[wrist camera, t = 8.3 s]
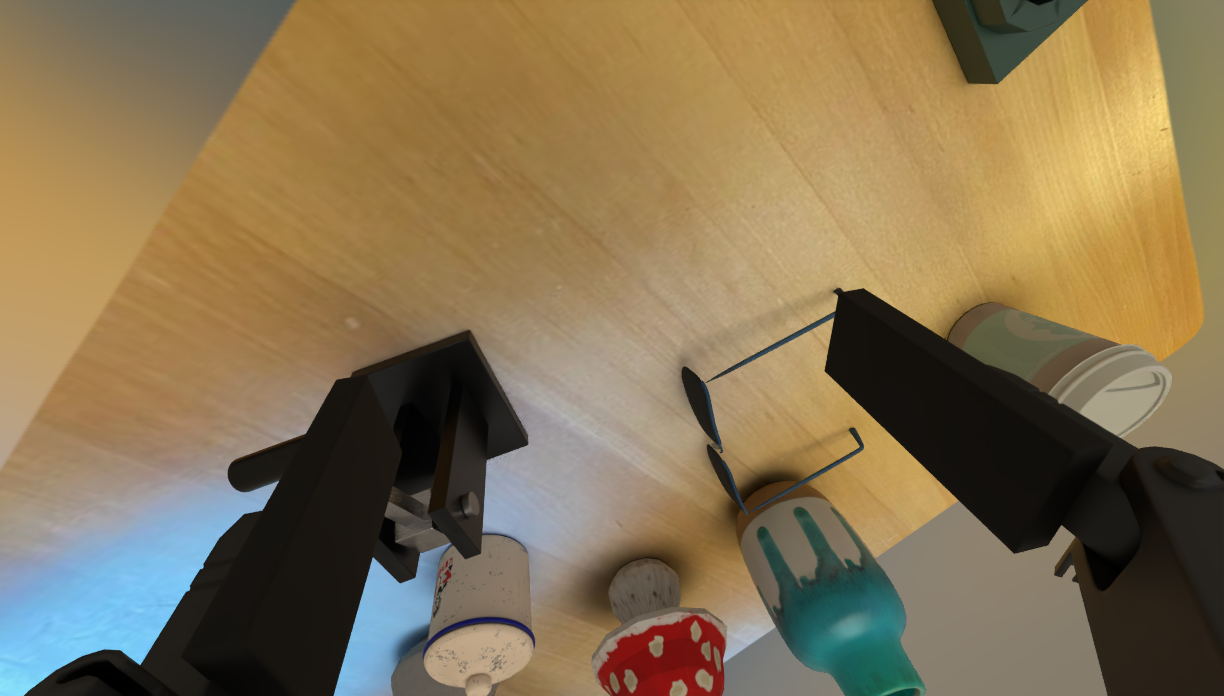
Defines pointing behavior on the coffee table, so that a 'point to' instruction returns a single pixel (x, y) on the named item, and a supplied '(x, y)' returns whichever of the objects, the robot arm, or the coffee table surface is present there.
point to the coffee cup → (1067, 364)
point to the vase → (826, 591)
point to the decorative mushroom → (658, 638)
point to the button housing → (1000, 32)
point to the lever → (402, 508)
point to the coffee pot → (421, 677)
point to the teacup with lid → (481, 617)
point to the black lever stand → (443, 439)
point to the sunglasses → (705, 417)
